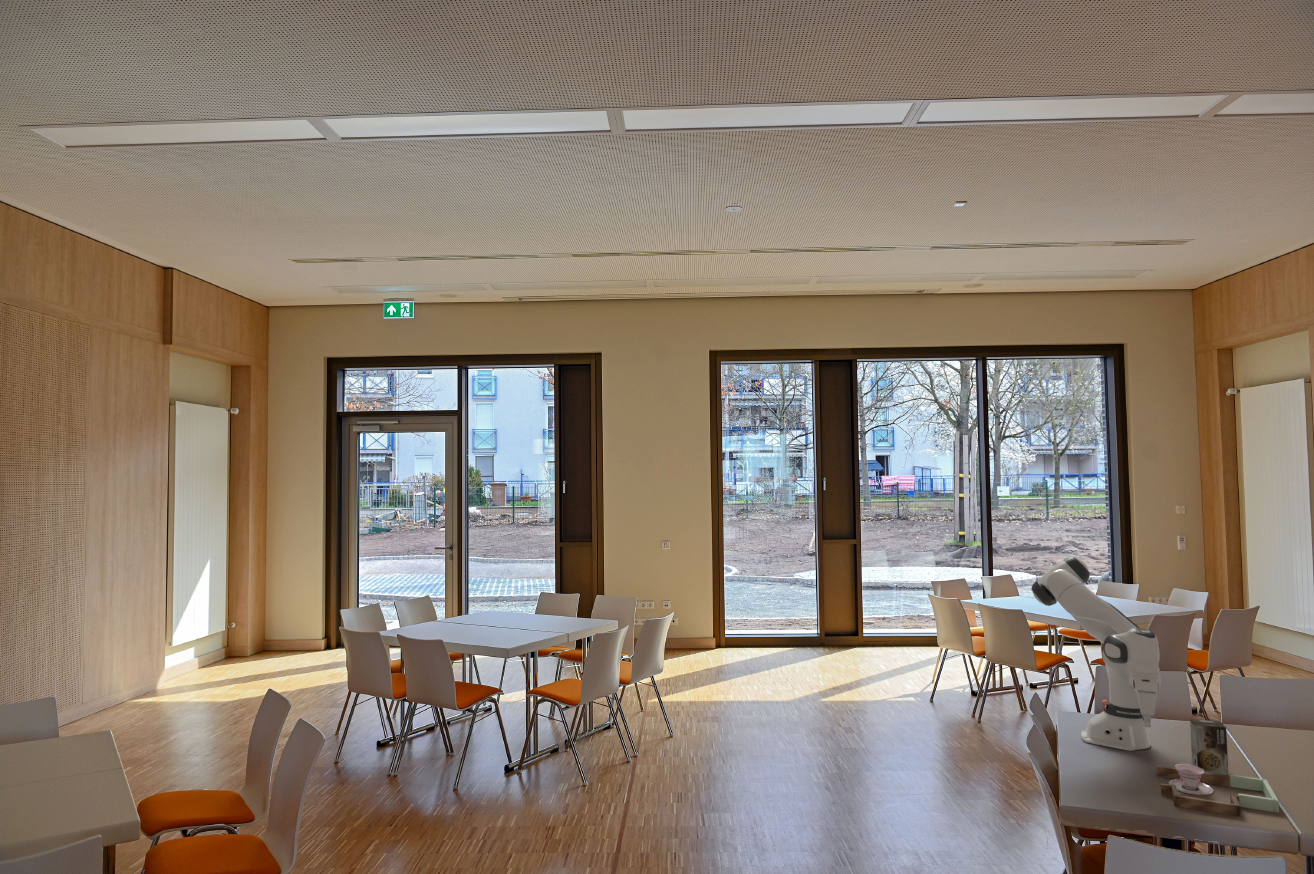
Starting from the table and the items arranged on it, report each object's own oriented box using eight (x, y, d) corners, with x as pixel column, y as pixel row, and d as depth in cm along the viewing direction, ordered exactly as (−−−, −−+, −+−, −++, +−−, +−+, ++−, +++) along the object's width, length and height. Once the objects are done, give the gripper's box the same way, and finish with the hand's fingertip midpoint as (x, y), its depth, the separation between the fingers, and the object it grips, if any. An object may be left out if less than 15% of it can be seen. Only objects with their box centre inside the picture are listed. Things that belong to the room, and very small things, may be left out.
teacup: (1160, 780, 261) (1159, 761, 261) (1197, 780, 260) (1197, 761, 260) (1183, 796, 249) (1183, 776, 249) (1222, 796, 248) (1221, 776, 248)
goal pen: (1239, 806, 240) (1238, 794, 241) (1229, 785, 256) (1229, 774, 256) (1278, 812, 236) (1278, 800, 236) (1266, 790, 251) (1266, 779, 251)
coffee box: (1222, 768, 269) (1220, 720, 270) (1229, 775, 263) (1227, 726, 264) (1191, 765, 272) (1189, 718, 273) (1197, 772, 266) (1195, 724, 267)
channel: (1163, 803, 243) (1163, 794, 243) (1156, 774, 265) (1156, 765, 265) (1244, 817, 233) (1243, 806, 234) (1229, 785, 256) (1229, 775, 256)
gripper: (1132, 670, 271) (1133, 711, 270) (1135, 686, 253) (1136, 730, 252) (1153, 672, 268) (1155, 714, 267) (1158, 688, 250) (1160, 733, 249)
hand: (1146, 722), depth 260 cm, fingers open, 8 cm apart
